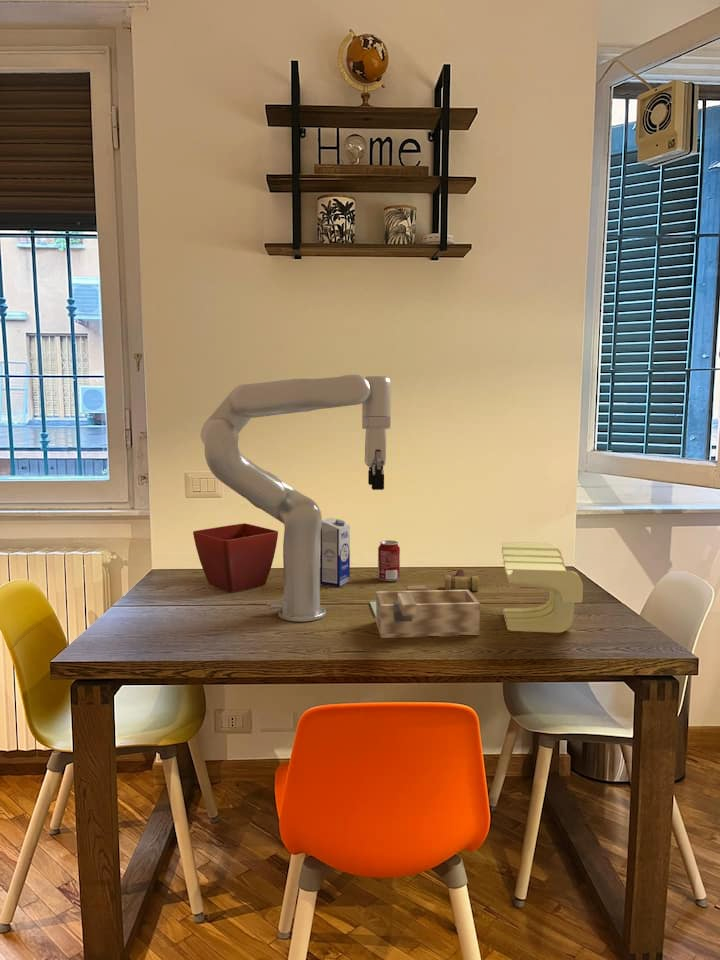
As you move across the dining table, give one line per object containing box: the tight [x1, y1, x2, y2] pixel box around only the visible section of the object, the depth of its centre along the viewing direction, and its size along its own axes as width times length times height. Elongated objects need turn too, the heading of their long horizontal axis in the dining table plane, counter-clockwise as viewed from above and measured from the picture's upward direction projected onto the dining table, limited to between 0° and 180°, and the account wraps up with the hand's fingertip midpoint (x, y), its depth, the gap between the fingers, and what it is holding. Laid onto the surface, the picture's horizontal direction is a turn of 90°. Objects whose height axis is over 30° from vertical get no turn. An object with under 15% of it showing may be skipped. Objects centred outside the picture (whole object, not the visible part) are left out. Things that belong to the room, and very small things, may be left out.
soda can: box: [377, 539, 401, 582], centre depth 221 cm, size 7×7×12 cm
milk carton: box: [320, 517, 351, 588], centre depth 217 cm, size 7×7×20 cm
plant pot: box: [192, 522, 279, 593], centre depth 214 cm, size 19×19×17 cm
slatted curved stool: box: [501, 541, 584, 634], centre depth 180 cm, size 30×16×18 cm, turn 174°
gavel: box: [443, 569, 480, 592], centre depth 219 cm, size 21×5×10 cm
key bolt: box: [398, 593, 416, 616], centre depth 161 cm, size 3×9×2 cm, turn 4°
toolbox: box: [375, 589, 481, 639], centre depth 175 cm, size 24×15×9 cm, turn 94°
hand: (375, 487), depth 190 cm, fingers open, 9 cm apart
